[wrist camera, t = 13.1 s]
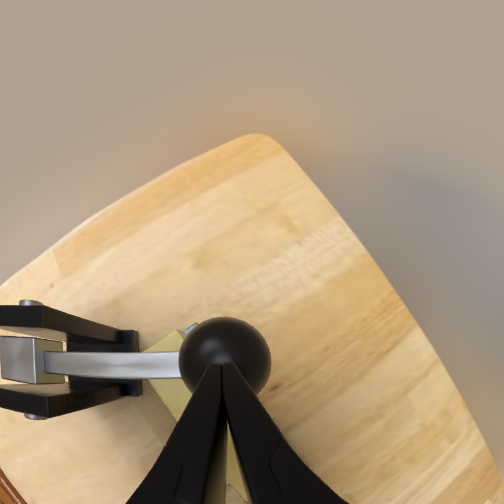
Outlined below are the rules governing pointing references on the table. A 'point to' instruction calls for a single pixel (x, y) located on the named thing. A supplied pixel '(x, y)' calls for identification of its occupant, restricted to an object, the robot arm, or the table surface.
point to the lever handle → (143, 357)
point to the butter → (178, 398)
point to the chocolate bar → (8, 492)
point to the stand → (78, 340)
